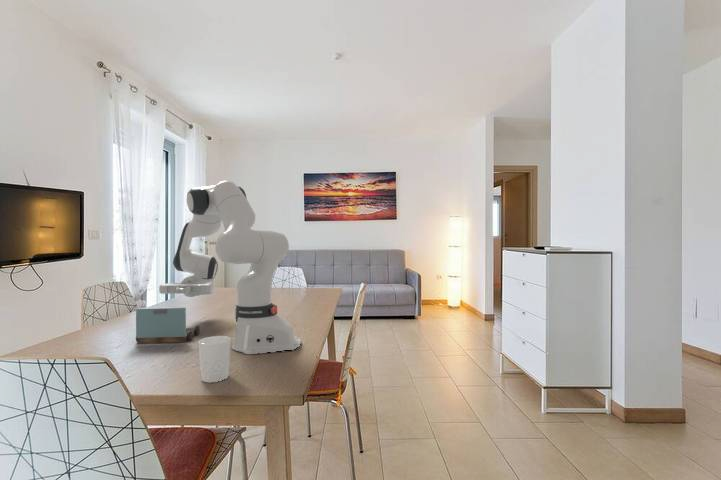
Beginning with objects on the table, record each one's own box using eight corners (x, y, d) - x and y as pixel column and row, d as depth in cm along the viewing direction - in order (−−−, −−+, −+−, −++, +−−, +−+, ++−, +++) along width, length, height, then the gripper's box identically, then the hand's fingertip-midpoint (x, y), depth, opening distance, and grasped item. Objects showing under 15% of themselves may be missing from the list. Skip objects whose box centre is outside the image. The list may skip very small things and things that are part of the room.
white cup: (224, 384, 93) (224, 344, 93) (192, 383, 93) (192, 344, 93) (235, 372, 101) (235, 335, 101) (206, 372, 101) (206, 335, 101)
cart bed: (200, 333, 143) (200, 324, 143) (189, 341, 131) (188, 332, 131) (151, 334, 141) (151, 325, 141) (135, 343, 129) (135, 334, 129)
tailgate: (185, 335, 131) (185, 307, 131) (183, 337, 129) (183, 308, 129) (137, 337, 129) (137, 308, 129) (135, 338, 127) (135, 309, 127)
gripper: (167, 279, 159) (152, 283, 145) (216, 278, 161) (206, 283, 147) (167, 293, 159) (152, 299, 145) (216, 293, 161) (206, 298, 147)
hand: (179, 291), depth 146 cm, fingers closed
